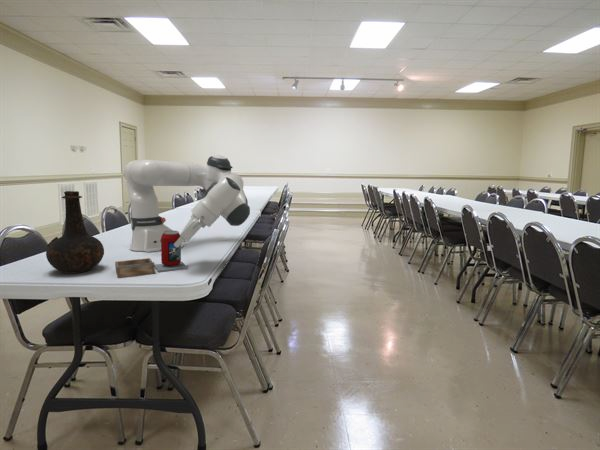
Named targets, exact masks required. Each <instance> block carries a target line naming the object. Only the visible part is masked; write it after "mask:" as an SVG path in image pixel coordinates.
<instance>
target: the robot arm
mask: <svg viewBox="0 0 600 450" xmlns="http://www.w3.org/2000/svg"><path fill="white" fill-rule="evenodd" d="M232 169H233V166H232V165H231V162H230V160H229V159H228V157H225V156H223V155H219V154H215V155H211V156H209V157H208V159H207V161H206V167H205V166H204V165H202V164H199V163H194V162H184V161H169V160H159V159H158V160H155V159H135V160H131V161H129V162H128V163H127V164H126V165H125V166H124V169H123V177H124V178H125V180H126V185H127V189H128V194H129V199H130V205H131V207H130V208H131V217H130V227H131V231H132V236H131V243H130V248H129V250H131V251H133V252H146V253H147V252H148V253H152V252H159V251H160V252H161V236H162V234H163V232H164V231H169V230H172V229H171V228H170V227H168V226H167V225H166V224H164V223H165V222H166V218H165V217H163V216H160V215H159V199H158V196H157V195H156V192H155V188H154V187H195V186H196V187H201V188H202V189H200V190H199V191H200V193H202V194H203V196H204V197H203V198H201V200H199V201H198V203H196V204H195V206H194V207H193V208H192V209H190V210H191V213H192V214H191V215H190V219H189V220H188V222H187V223H186V225H185V226H184V228H183V229H182V231H181V232H180V233H179V234H180V237H179V239H178V240H177V241H176V242H175V243H174V246H175V247H177V248H178V247H179V246H180V245H181V249H182V248H183V247H184V242H185V241H186V242H189V241H190V240H191V239H192V238H193V237H194V236H195V235H196V233H197V232H198V231H199V230H200V229H201V228H203V229H204V228H206V226H207V227H209V228H210V227H211V226H212V225H214V223H215V222H216V221H217V220H218V219H219V218H220V216H221V217H222V218H223V219H224V220H225V221H226V222H227V223H228V224H229V225H230V226H232V227H237V226H238V227H239V226H241V225H242V224H244V223H245V222H246V221H247V220H248V218H249V217H250V213H251V208H250V206H249V204H248V198H247V196H246V193H245V191H244V181H243V178H242V177H241V175H240V174H238V173H235V172H232Z"/></svg>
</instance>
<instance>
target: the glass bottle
mask: <svg viewBox="0 0 600 450" xmlns="http://www.w3.org/2000/svg"><path fill="white" fill-rule="evenodd" d="M63 193H64V195H63V196H62V197H61V199H63V200H65V201H64V205H65V206H64V207H65V222H64V223H65V225H64V229H63V230H64V231H63V233H62V236H60V237H58V236H55V237H54V238H53V239H52V240H50V242H49V243H47V245H46V249H45V250H46V252H45V255H46V260H47V262H48V264H49V265H51V267H52V268H54V269H55V270H57V271H59V272H61V273H65V274H78V273H79V274H80V273H84V272H89V271H91V270H93V269H95V267H97V266H99V264H100V262H102V259H103V257H104V255H105V249H104V245H103V243H102V241H101V240H99V239H98V238H96V237H94V236H93V235H90V234H89V233H88V231H87V228H86V225H85V223H84V218H83V214H82V213H83V212H82V207H81V199H82V198H83V196H82V195H80V191H78V190H77V191H76V190H73V191H72V190H66V191H63Z"/></svg>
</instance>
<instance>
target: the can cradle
mask: <svg viewBox="0 0 600 450" xmlns="http://www.w3.org/2000/svg"><path fill="white" fill-rule="evenodd" d="M114 264H115V272H116V277H117V278H127V277H128V278H129V277H137V276H144V275H151V274H155V273H156V268H155V267H154V265H155V262H154V261H152V258H150V257H148V258H138V259H130V260H129V259H127V260H120V261H119V260H118V261H115V262H114Z"/></svg>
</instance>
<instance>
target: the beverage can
mask: <svg viewBox="0 0 600 450" xmlns="http://www.w3.org/2000/svg"><path fill="white" fill-rule="evenodd" d="M180 234H181V233H180V232H179V230H178V231H177V230H173V229H171V230H169V231H164V232H163V234H162V236H161V250H160V254H161V255H160V256H161V259H160V260H161V263H160V264H164V265H165V266H176V265H178V264H179V263H180V262H182V261H181V260H182V259H181V258H182V248H181V245H180V246H179V247H178V248H177V247H175V246H174V243H175V242H176V241H177V240H178V239H179V237H180Z"/></svg>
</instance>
